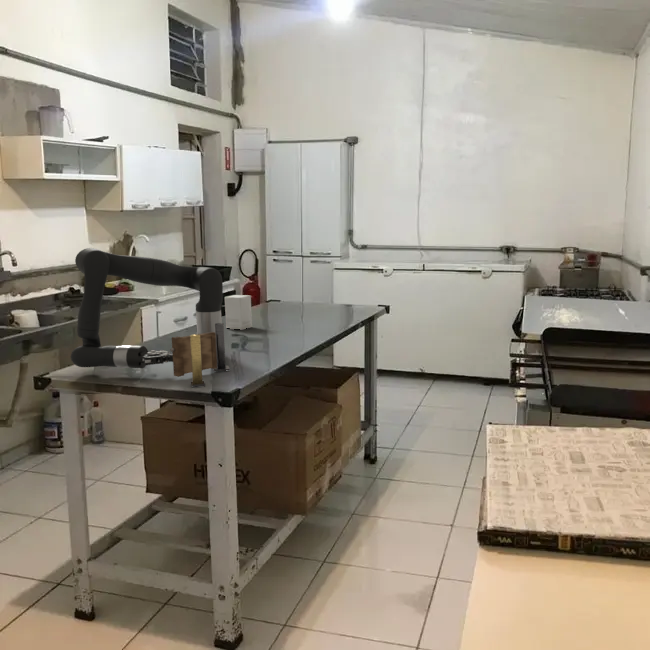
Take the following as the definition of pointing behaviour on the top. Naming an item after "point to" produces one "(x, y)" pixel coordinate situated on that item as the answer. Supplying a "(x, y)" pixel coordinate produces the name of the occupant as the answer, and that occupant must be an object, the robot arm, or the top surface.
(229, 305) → the supplement box
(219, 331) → the hinge post
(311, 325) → the top surface
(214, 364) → the gate
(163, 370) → the top surface
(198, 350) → the post
